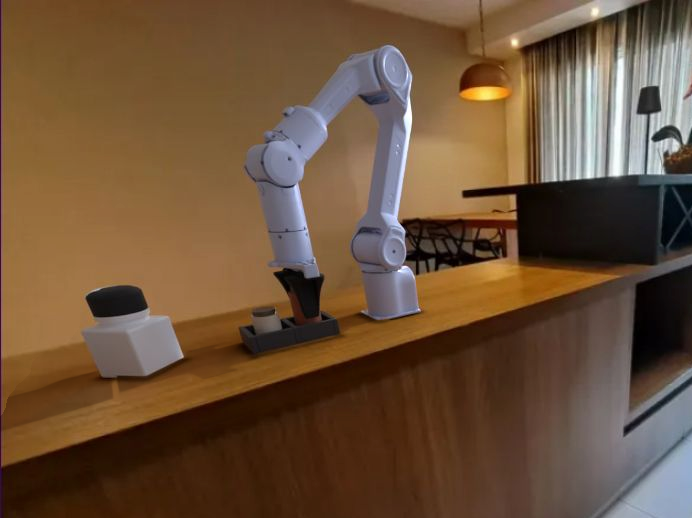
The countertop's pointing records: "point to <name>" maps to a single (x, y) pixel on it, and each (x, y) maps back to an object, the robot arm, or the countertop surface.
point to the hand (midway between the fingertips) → (307, 314)
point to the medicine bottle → (128, 333)
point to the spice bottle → (300, 311)
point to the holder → (289, 333)
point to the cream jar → (265, 320)
